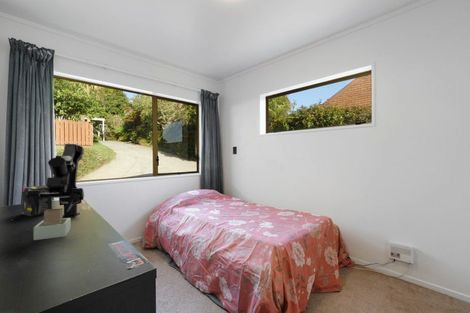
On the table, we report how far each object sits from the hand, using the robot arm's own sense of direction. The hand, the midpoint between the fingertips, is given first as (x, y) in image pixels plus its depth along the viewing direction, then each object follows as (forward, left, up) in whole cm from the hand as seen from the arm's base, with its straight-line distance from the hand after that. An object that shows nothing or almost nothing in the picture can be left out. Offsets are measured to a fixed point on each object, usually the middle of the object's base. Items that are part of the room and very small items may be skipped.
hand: (52, 212), depth 88 cm
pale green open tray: (-1, 0, -9) cm, 9 cm away
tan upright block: (-1, 0, -8) cm, 8 cm away
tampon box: (-39, -28, -9) cm, 49 cm away
